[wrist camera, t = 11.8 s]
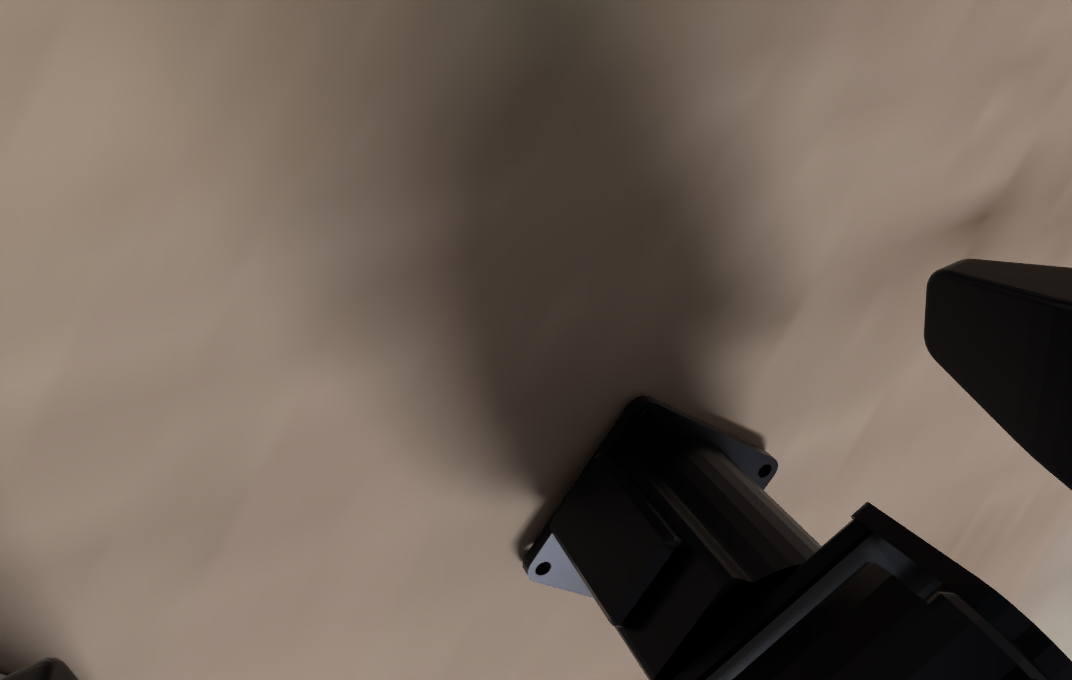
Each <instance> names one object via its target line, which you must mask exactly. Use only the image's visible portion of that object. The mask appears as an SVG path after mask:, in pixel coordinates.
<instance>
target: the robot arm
mask: <svg viewBox="0 0 1072 680" xmlns="http://www.w3.org/2000/svg"><path fill="white" fill-rule="evenodd" d="M924 340H925V344H926V347H927V349H928V351H929V353H930V354H931V356H932V357H933V358H934V359H935V361H936V362H937V363H938V364H939V365H940V366H941V367H942V368H943V369H944V370H945V371H946V372H947V373H948V374H949V375H950V376H951V377H952V378H953V379H954V380H955V381H956V382H957V383H958V384H959V385H960V386H961V387H962V388H963V389H964V390H965V391H966V392H967V393H968V394H969V395H970V396H971V397H972V398H973V399H974V400H975V401H976V402H977V403H978V404H979V405H980V406H981V407H982V408H983V409H984V410H985V411H986V412H987V413H988V414H989V415H990V416H991V417H992V418H993V419H994V420H995V421H996V422H997V423H998V424H999V425H1000V426H1001V427H1002V428H1003V429H1004V430H1005V431H1006V432H1007V433H1008V434H1009V435H1010V436H1011V437H1012V438H1013V439H1014V440H1015V441H1016V442H1017V443H1018V444H1019V445H1020V446H1021V447H1022V448H1024V449H1025V450H1026V451H1027V452H1028V453H1029V454H1030V455H1031V456H1032V457H1033V458H1034V459H1035V460H1037V461H1038V462H1039V463H1040V464H1041V465H1042V466H1043V467H1045V468H1046V469H1047V470H1048V471H1049V472H1050V473H1052V474H1053V475H1054V476H1055V477H1056V478H1058V479H1059V480H1060V481H1061V482H1062V483H1064V484H1065V485H1066V486H1067V487H1068V488H1070V489H1071V490H1072V268H1068V267H1057V266H1046V265H1035V264H1024V263H1013V262H1002V261H991V260H980V259H964V260H960V261H957V262H955V263H953V264H951V265H948V266H946V267H944V268H941V269H939V270H937V271H935V272H934V273H933V274H932V275H931V277H930V278H929V280H928V283H927V290H926V307H925V324H924ZM644 411H647V412H646V414H645V415H644V416H643V417H641V418H639V417H640V415H641V414H642V413H643V412H644ZM777 468H778V463H777V461H776V460H775V459H774V458H773V457H772V456H771V455H770V454H769V453H767V452H766V451H764V450H762V449H760V448H758V447H756V446H753V445H751V444H749V443H747V442H745V441H743V440H741V439H739V438H736V437H734V436H732V435H730V434H728V433H726V432H724V431H722V430H719V429H717V428H715V427H713V426H711V425H709V424H707V423H704V422H702V421H700V420H698V419H696V418H694V417H692V416H690V415H687V414H685V413H683V412H681V411H679V410H677V409H675V408H673V407H670V406H668V405H666V404H664V403H662V402H660V401H658V400H656V399H653V398H651V397H649V396H640V397H637V398H635V399H633V400H632V401H631V402H630V403H629V404H628V405H627V407H626V408H625V410H624V411H623V413H622V414H621V416H620V417H619V419H618V420H617V422H616V423H615V425H614V426H613V427H612V429H611V430H610V432H609V433H608V435H607V436H606V438H605V439H604V441H603V442H602V444H601V445H600V447H599V448H598V450H597V451H596V453H595V454H594V455H593V457H592V458H591V460H590V461H589V463H588V464H587V466H586V467H585V469H584V470H583V472H582V473H581V475H580V476H579V478H578V479H577V481H576V482H575V483H574V485H573V486H572V488H571V489H570V491H569V492H568V494H567V495H566V497H565V498H564V500H563V501H562V503H561V504H560V506H559V507H558V509H557V510H556V512H555V513H554V514H553V516H552V517H551V519H550V520H549V522H548V523H547V525H546V526H545V528H544V529H543V531H542V532H541V534H540V535H539V537H538V538H537V540H536V541H535V542H534V544H533V545H532V547H531V548H530V550H529V551H528V553H527V554H526V556H525V558H524V560H523V568H524V570H525V572H526V573H527V575H528V577H529V579H530V580H532V581H534V582H537V583H541V584H545V585H548V586H552V587H556V588H560V589H563V590H567V591H571V592H575V593H579V594H582V595H586V596H590V597H594V599H595V600H596V602H597V603H598V605H599V606H600V608H601V610H602V611H603V613H604V614H605V616H606V617H607V619H608V620H609V622H610V623H611V624H612V625H613V626H615V628H616V629H617V631H618V632H619V634H620V636H621V637H622V639H623V640H624V642H625V643H626V645H627V646H628V648H629V649H630V651H631V652H632V654H633V656H634V657H635V659H636V660H637V662H638V663H639V665H640V666H641V668H642V669H643V671H644V673H645V674H646V676H647V677H648V679H649V680H1072V661H1071V660H1070V659H1069V658H1068V657H1067V656H1066V655H1065V654H1064V653H1063V652H1062V651H1061V650H1060V649H1059V648H1058V647H1057V646H1056V645H1055V644H1054V643H1053V642H1052V641H1051V640H1050V639H1049V638H1048V637H1047V636H1046V635H1045V634H1044V633H1043V632H1042V631H1041V630H1040V629H1039V628H1038V627H1037V626H1036V625H1035V624H1034V623H1033V622H1032V621H1030V620H1029V619H1028V618H1027V617H1026V616H1025V615H1024V614H1023V613H1022V612H1020V611H1019V610H1018V609H1017V608H1016V607H1015V606H1014V605H1013V604H1011V603H1010V602H1009V601H1008V600H1006V599H1005V598H1004V597H1003V596H1002V595H1000V594H999V593H998V592H997V591H995V590H994V589H993V588H992V587H990V586H989V585H987V584H986V583H985V582H983V581H982V580H981V579H979V578H978V577H977V576H975V575H974V574H972V573H971V572H969V571H968V570H966V569H965V568H963V567H962V566H960V565H959V564H958V563H956V562H955V561H953V560H952V559H950V558H949V557H947V556H946V555H944V554H943V553H942V552H940V551H939V550H937V549H936V548H934V547H933V546H931V545H930V544H928V543H927V542H926V541H924V540H923V539H921V538H920V537H918V536H917V535H915V534H914V533H912V532H911V531H910V530H908V529H907V528H905V527H904V526H902V525H901V524H899V523H898V522H896V521H895V520H894V519H892V518H891V517H889V516H888V515H886V514H885V513H883V512H882V511H880V510H879V509H878V508H876V507H875V506H873V505H872V504H870V503H869V502H866V503H865V504H864V505H863V506H862V507H861V508H860V509H858V510H857V511H856V512H855V513H854V514H853V515H852V516H851V517H852V519H853V520H852V521H851V522H849V523H848V524H847V525H846V526H845V527H844V528H843V529H841V530H840V531H839V532H838V533H837V534H836V535H835V536H833V537H832V538H831V539H830V540H829V541H828V542H827V543H825V544H824V545H823V546H821V545H820V544H819V543H818V542H817V541H816V540H815V539H814V538H813V537H811V536H810V535H809V534H808V533H807V532H806V531H805V530H804V529H803V528H802V527H801V526H800V525H799V524H798V523H797V522H796V521H795V520H794V519H793V518H792V517H791V516H790V515H789V514H788V513H787V512H785V511H784V510H783V509H782V508H781V507H780V506H779V505H778V504H777V503H776V502H775V501H774V500H773V499H772V498H771V497H770V496H769V495H768V494H767V493H766V492H765V491H764V489H765V487H766V486H767V485H768V483H769V482H770V480H771V479H772V478H773V476H774V475H775V473H776V471H777ZM542 562H544V563H543V564H542V565H540V566H538V565H539V564H540V563H542ZM537 566H538V567H537ZM1 680H78V679H77V677H76V676H75V675H74V674H73V672H72V671H71V670H70V669H69V667H68V666H67V665H66V664H65V663H64V662H63V661H61V660H59V659H58V658H46V659H43V660H41V661H38V662H36V663H34V664H32V665H29V666H27V667H25V668H22V669H20V670H18V671H15V672H13V673H11V674H9V675H7V676H6V677H4V678H2V679H1Z"/></svg>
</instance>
